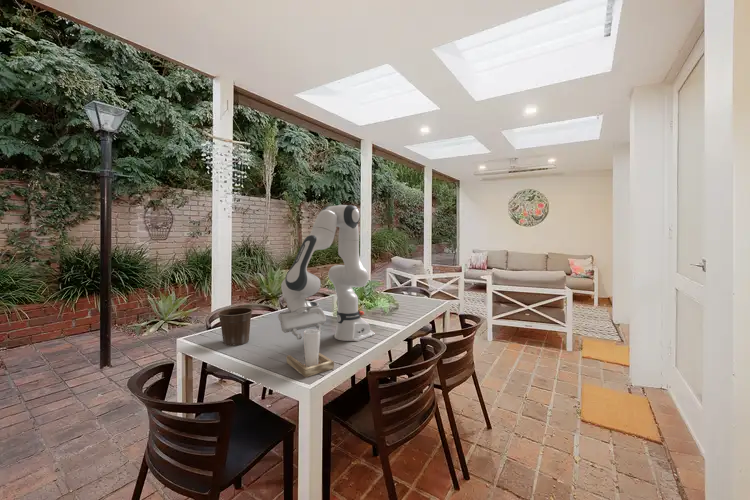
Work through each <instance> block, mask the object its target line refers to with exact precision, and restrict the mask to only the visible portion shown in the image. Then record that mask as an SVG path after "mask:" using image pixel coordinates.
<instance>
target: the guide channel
mask: <svg viewBox="0 0 750 500" xmlns="http://www.w3.org/2000/svg"><path fill="white" fill-rule="evenodd" d="M286 364H288V365H289V366H290V367H291V368H293V369H294V370H295V371H297V372H298V373H299V374H300V375H302V376H303V377H304V378H308V377H311V376H314V375H317V374H320V373H324V372H326V371H331V370H334V369H335V362H334V361H333V359H330V358H329V357H327V356H326V355H324V354H322V353H321V352H319V358H318V364H317V365H314V366H311V367H306V366H305V363H302V362H300V361H299V360H297V359H296V358H295V357H293V356H292V355H289V354H288V355H286Z"/></svg>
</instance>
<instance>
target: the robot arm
mask: <svg viewBox="0 0 750 500" xmlns="http://www.w3.org/2000/svg"><path fill="white" fill-rule="evenodd" d="M360 219H361V213H360V210H359V208H358V207H357V206H356V205H352V204H349V205H347V204H338V205H327V206H326V207H323V208H322V209H321V210H320V211H319V212H318V214H317V216H316V218H315V220H314V223H313V225H312V228H311V231H310V234H309V235H308V236H307V237H305V238H304V240H303V241H302V244H301V245H300V248H299V250H298V252H297V254H296V257H295V258H294V261H293V263H292V265H291V266H290V268H289V269H288V271H287V273H286V275H285V278H284V279H283V280H282V281H281V284H280V288H281V292H282V296H283V300H284V301H285V302H286V306H287V309H288V310H285V311H280V313H278V314H277V318H278V320H279V322H280V323H279V324H280V327H281V331H282V332H283V333H285V334H287V333H292V335H293V336H295V338H296V340H301V339H302V338H303V336H302V334H301V333H299V332H298V331H300V330H306V329H311V328H313V327H316V329H318V330H319V331H320V335H321V334H322V325H323V326H324V325H325V324H326V322H327V315H326V314H325V312H324V310H323V309H322V308H321V307H320V304H319V302H317V301H311V300H307V298H310V297H312V296H315V295H316V294H318V292H319V291H320V290H321V285H322V284H321V283H322V282H321V279H320V278H319V277H318V276H317V275H315V274H314V273H311V272H310V271H308V269H307V268H308V265H309V263H310V260H311V259H312V256H313V255H314V254H313V253H314V252H316V251H318V250H319V251H321V250H322V251H323V250H326V249H328V248H330V247H331V246H332V244H333V242H334V239H335V235H336V232H337V227H338V229H339V230H338V241H337V242H338V246H337V247H338V248H337V249H338V250H337V251H338V252H337V253H338V257H340V258H341V260H342V261H343V264H335V265H332V266H330V269H329V270H328V273H327V277H328V279H329V280H330V282H331V284H332V285H333V287H334V290H335V293H336V299H337V301H336V302H337V310H336V328H335V332H334V339H336V340H338V341H344V342H350V341H351V342H359V341H362V340H364V339H367V338H369V337H372V335H373V336H374V335H375V332H374V331H373V330H371V326H370V323H369V322H368V321H366V320H365V319H364V318H362V316H364V315H365V311H361V310H359V297H358V295H357V294H356V292H355V291H354V289H353V288H363V287H365V286H366V285H367V284H368V281H369V279H370V278H369V277H370V275H369V272H368V271H367V269H366V268H365V266H364V265H363V263H362V260H361V257H360V231H359V225H358V224H359V223H360Z"/></svg>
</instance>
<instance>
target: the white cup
mask: <svg viewBox="0 0 750 500" xmlns="http://www.w3.org/2000/svg"><path fill="white" fill-rule="evenodd" d="M320 345H321V334H320V331H319V330H318V328H307V329H304V331H303V350H304V351H303V352H304V364H305V366H306V367H311V366H314V365H317V364H318V358H319V353H320Z"/></svg>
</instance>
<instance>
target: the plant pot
mask: <svg viewBox="0 0 750 500" xmlns="http://www.w3.org/2000/svg"><path fill="white" fill-rule="evenodd" d="M217 314H218V319H219V321H220V327H221V335H222V343H223V345H224V346H228V347H229V346H231V347H232V346H241V345H244V344H246V343H247V344H248V342H249V341H250V334H251V333H250V330H251V319H252V314H253V309H252V308H251V307H231V308H226V309H222V310H220V311H218V312H217Z"/></svg>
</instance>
